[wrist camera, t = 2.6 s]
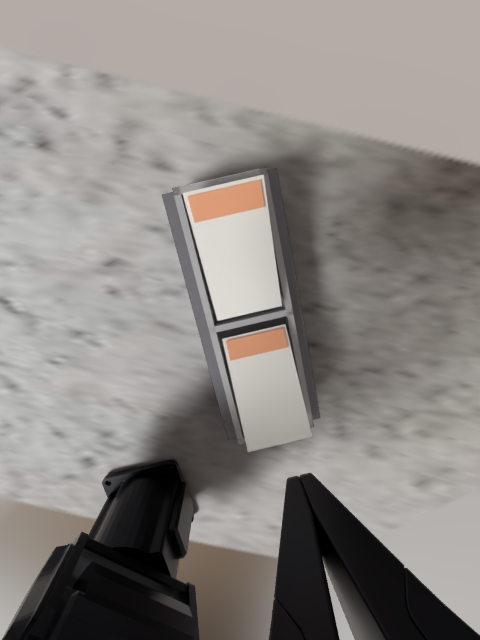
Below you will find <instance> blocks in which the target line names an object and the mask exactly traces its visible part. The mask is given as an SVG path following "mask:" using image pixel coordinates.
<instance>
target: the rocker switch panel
mask: <svg viewBox="0 0 480 640" xmlns="http://www.w3.org/2000/svg"><path fill="white" fill-rule="evenodd" d="M259 175H264V181H265V188H266V195H267V203H268V210H269V217H270V224H271V231H272V239H273V246H274V253H275V260H276V267H277V274H278V282H279V289H280V296H281V303H282V306H280V307H275V308H271V309H267V310H262V311H258V312H254V313H249V314H245V315H241V316H237V317H232V318H228V319H224V320H219V321H217V317H216V314H215V310H214V306H213V303H212V299H211V295H210V292H209V288H208V284H207V281H206V277H205V273H204V270H203V266H202V263H201V259H200V255H199V252H198V248H197V244H196V241H195V237H194V233H193V230H192V226H191V223H190V219H189V215H188V212H187V208H186V204H185V201H184V197H183V193H185V192H189V191H194V190H198V189H202V188H207V187H211V186H216V185H220V184H224V183H229V182H233V181H237V180H242V179H246V178H251V177H255V176H259ZM172 190H173V192H170V193H166V194H162V198H163V201H164V205H165V209H166V212H167V216H168V220H169V224H170V227H171V231H172V235H173V238H174V242H175V246H176V249H177V253H178V257H179V261H180V264H181V268H182V272H183V275H184V279H185V283H186V287H187V290H188V294H189V298H190V301H191V305H192V309H193V312H194V316H195V320H196V324H197V327H198V331H199V335H200V338H201V342H202V346H203V350H204V353H205V357H206V361H207V364H208V368H209V372H210V376H211V379H212V383H213V387H214V390H215V394H216V398H217V401H218V405H219V409H220V413H221V416H222V420H223V424H224V427H225V431H226V435H227V439H228V440H229V439H233V438H237V440H238V444H244V443H246V441H245V437H244V433H243V428H242V424H241V420H240V415H239V411H238V406H237V402H236V398H235V393H234V389H233V385H232V380H231V376H230V372H229V367H228V363H227V358H226V354H225V350H224V345H223V341H222V339H223V338H227V337H231V336H236V335H240V334H244V333H249V332H253V331H257V330H261V329H266V328H270V327H274V326H279V325H283V324H285V325H286V329H287V333H288V337H289V341H290V346H291V350H292V354H293V358H294V362H295V366H296V371H297V375H298V379H299V383H300V387H301V392H302V396H303V400H304V404H305V408H306V412H307V417H308V421H309V425H310V428H311V427H314V424H313V420H314V419H318V418H320V412H319V407H318V401H317V395H316V389H315V384H314V378H313V372H312V367H311V361H310V355H309V349H308V344H307V338H306V332H305V326H304V321H303V315H302V309H301V304H300V298H299V292H298V286H297V281H296V275H295V269H294V263H293V258H292V252H291V246H290V241H289V235H288V229H287V223H286V218H285V212H284V206H283V200H282V195H281V189H280V183H279V178H278V172H277V168H276V169H271V170H267V167H263V168H259V169H254V170H250V171H245V172H241V173H237V174H232V175H228V176H224V177H219V178H215V179H210V180H206V181H202V182H197V183H193V184H188V185H184V186H180V187H175V188H172Z"/></svg>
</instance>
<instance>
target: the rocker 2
mask: <svg viewBox="0 0 480 640" xmlns="http://www.w3.org/2000/svg"><path fill="white" fill-rule="evenodd" d="M222 341H223V345H224V350H225V354H226V358H227V363H228V367H229V372H230V376H231V380H232V385H233V389H234V393H235V398H236V402H237V406H238V411H239V415H240V420H241V424H242V428H243V433H244V437H245V441H246V446H247V450H248V452H251V451H255V450H259V449H264V448H268V447H272V446H276V445H281V444H285V443H289V442H293V441H298V440H302V439H306V438H310V437H312V433H311V429H310V425H309V421H308V417H307V412H306V408H305V404H304V400H303V396H302V392H301V387H300V383H299V379H298V375H297V371H296V366H295V362H294V358H293V354H292V350H291V346H290V341H289V337H288V333H287V329H286V325H285V324H283V325H279V326H274V327H270V328H266V329H261V330H257V331H253V332H249V333H244V334H240V335H236V336H231V337H227V338H223V339H222Z"/></svg>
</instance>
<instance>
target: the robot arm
mask: <svg viewBox="0 0 480 640" xmlns="http://www.w3.org/2000/svg"><path fill="white" fill-rule="evenodd" d="M170 466H173V467H170ZM109 481H110V482H109ZM102 485H103V487H104V490H105V492H106V495H107V497H108V498H107V500H106V502H105V504H104V506H103V508H102V510H101V512H100V514H99V516H98V518H97V519H96V521H95V523H94V525H93V527H92V529H91V531H90V533H89V535H88V534H86V533H84V532H81V533H80V534H79V536H78V537H77V539H76V540H75V541H74V543H73V544H68V545H65V546H60V547H56V548H55V550H54V551H53V552H52V554H51V555H50V557H49V559H48V560H47V562H46V563H45V565H44V566H43V568H42V570H41V571H40V573H39V575H38V576H37V578H36V579H35V581H34V583H33V584H32V586H31V588H30V589H29V591H28V593H27V595H26V596H25V598H24V600H23V602H22V604H21V606H20V607H19V609H18V611H17V613H16V614H15V616H14V618H13V620H12V622H11V624H10V625H9V627H8V629H7V631H6V633H5V635H4V636H3V638H2V640H199V631H198V617H197V605H196V593H195V586H194V585H192V584H190V583H184V582H182V581H180V580H178V579H176V578H177V572H178V565H179V559H181V558H184V557H185V556H186V554H187V548H188V542H189V535H190V528H191V522H192V521H193V519H194V512H193V506H194V504H193V501H192V498H191V495H190V492H189V489H188V486H187V483H186V482H185V481H183V478H182V475H181V472H180V469H179V466H178V463H177V462H176V461H175V460H169V461H164V462H160V463H156V464H152V465H147V466H143V467H139V468H135V469H130V470H126V471H122V472H118V473H114V474H109V475H107V476H106V477H105V478H104V480H103V482H102ZM322 559H323V560H322ZM323 562H324V564H325V567H326V570H327V572H328V575H329V577H330V580H331V582H332V584H333V587H334V589H335V592H336V594H337V597H338V599H339V602H340V604H341V607H342V609H343V612H344V614H345V617H346V619H347V621H348V624H349V626H350V629H351V631H352V634H353V636H354V639H355V640H480V635H479V634H478V633H476V632H475V631H474V630H473V629H472V628H471V627H470V626H468V625H467V624H466V623H465V622H464V621H463V620H462V619H460V618H459V617H458V616H457V615H456V614H455V613H454V612H452V611H451V610H450V609H449V608H448V607H447V606H446V605H445V604H444V603H443V602H441V601H440V600H439V599H438V598H437V597H436V596H435V595H434V594H433V593H432V592H431V591H430V590H429V589H428V588H427V587H426V586H425V585H424V584H423V583H422V582H421V581H420V580H419V579H418V578H416V577H415V575H414V574H413V573H412V572H411V571H409V570H408V569H407V568H404V565H403V564H402V563H401V562H400V561H399V560H398V559H397V558H396V557H395V556H394V555H393V554H392V553H391V552H390V551H389V550H388V549H387V548H386V547H385V546H384V545H383V544H382V543H381V542H380V541H379V540H378V539H377V538H376V537H375V536H374V535H373V534H372V533H371V532H370V531H369V530H368V529H367V528H366V527H365V526H364V525H363V524H362V523H361V522H360V521H359V520H358V519H357V518H356V517H355V516H354V515H353V514H352V513H351V512H350V511H349V510H348V509H347V508H346V507H345V506H344V505H343V504H342V503H341V502H340V501H339V500H338V499H337V498H336V497H335V496H334V495H333V494H332V493H331V492H330V491H329V490H328V489H327V488H326V487H325V486H324V485H323V484H322V483H321V482H320V481H319V480H318V479H317V478H316V477H315V476H314V475H313V474H311V473H307V474H303V475H300V477H299V476H294V477H290V478H288V479H287V483H286V492H285V501H284V511H283V520H282V529H281V538H280V548H279V557H278V567H277V576H276V586H275V594H274V597H275V599H274V602H273V611H272V621H271V628H270V635H269V640H339V636H338V631H337V626H336V621H335V616H334V612H333V607H332V602H331V597H330V593H329V588H328V583H327V579H326V574H325V569H324V564H323Z"/></svg>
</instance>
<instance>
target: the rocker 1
mask: <svg viewBox="0 0 480 640" xmlns="http://www.w3.org/2000/svg"><path fill="white" fill-rule="evenodd" d="M183 197H184V201H185V204H186V208H187V212H188V215H189V219H190V223H191V226H192V230H193V233H194V237H195V241H196V244H197V248H198V252H199V255H200V259H201V263H202V266H203V270H204V273H205V277H206V281H207V284H208V288H209V292H210V295H211V299H212V303H213V306H214V310H215V314H216V317H217V321H219V320H224V319H228V318H232V317H237V316H241V315H245V314H249V313H254V312H258V311H262V310H267V309H271V308H275V307H280V306H282V303H281V296H280V289H279V282H278V274H277V267H276V260H275V253H274V246H273V239H272V231H271V224H270V217H269V210H268V203H267V195H266V188H265V181H264V175H259V176H255V177H251V178H246V179H242V180H237V181H233V182H229V183H224V184H220V185H216V186H211V187H207V188H202V189H198V190H194V191H189V192H185V193H183Z"/></svg>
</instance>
